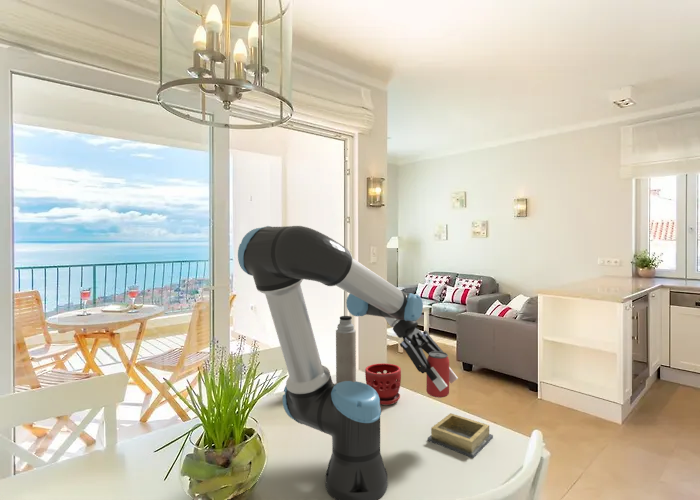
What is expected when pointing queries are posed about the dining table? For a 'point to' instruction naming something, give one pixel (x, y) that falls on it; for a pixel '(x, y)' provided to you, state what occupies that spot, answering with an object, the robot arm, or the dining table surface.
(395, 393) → the plant pot
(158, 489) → the dining table surface
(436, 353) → the beer can
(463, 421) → the frame
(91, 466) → the dining table surface
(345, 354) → the thermos bottle
